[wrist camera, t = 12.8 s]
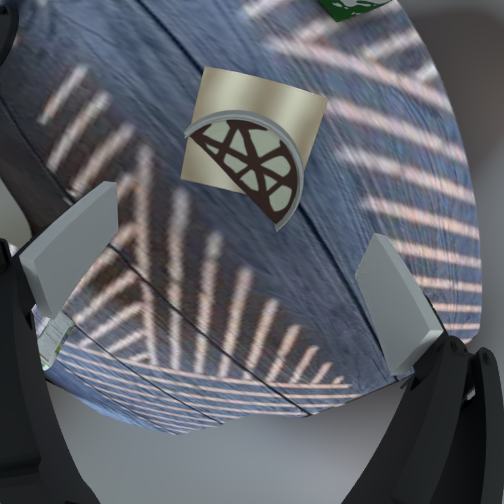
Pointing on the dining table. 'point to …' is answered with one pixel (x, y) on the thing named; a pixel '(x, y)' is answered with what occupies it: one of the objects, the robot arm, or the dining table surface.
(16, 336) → the robot arm
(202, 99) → the birch riser block
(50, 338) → the syrup box
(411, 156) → the dining table surface
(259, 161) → the food container
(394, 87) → the dining table surface
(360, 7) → the milk carton
